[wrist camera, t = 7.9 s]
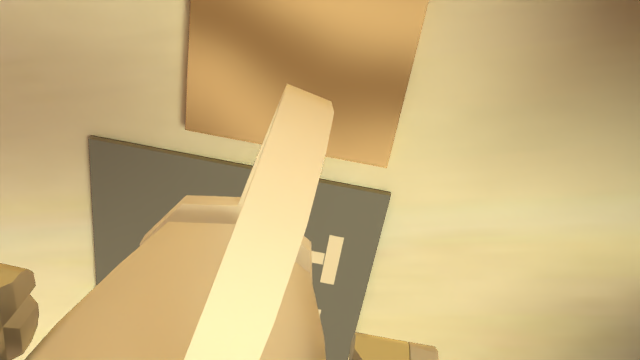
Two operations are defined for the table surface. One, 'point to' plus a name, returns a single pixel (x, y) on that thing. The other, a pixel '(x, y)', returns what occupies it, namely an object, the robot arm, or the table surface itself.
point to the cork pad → (303, 67)
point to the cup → (218, 266)
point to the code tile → (229, 181)
